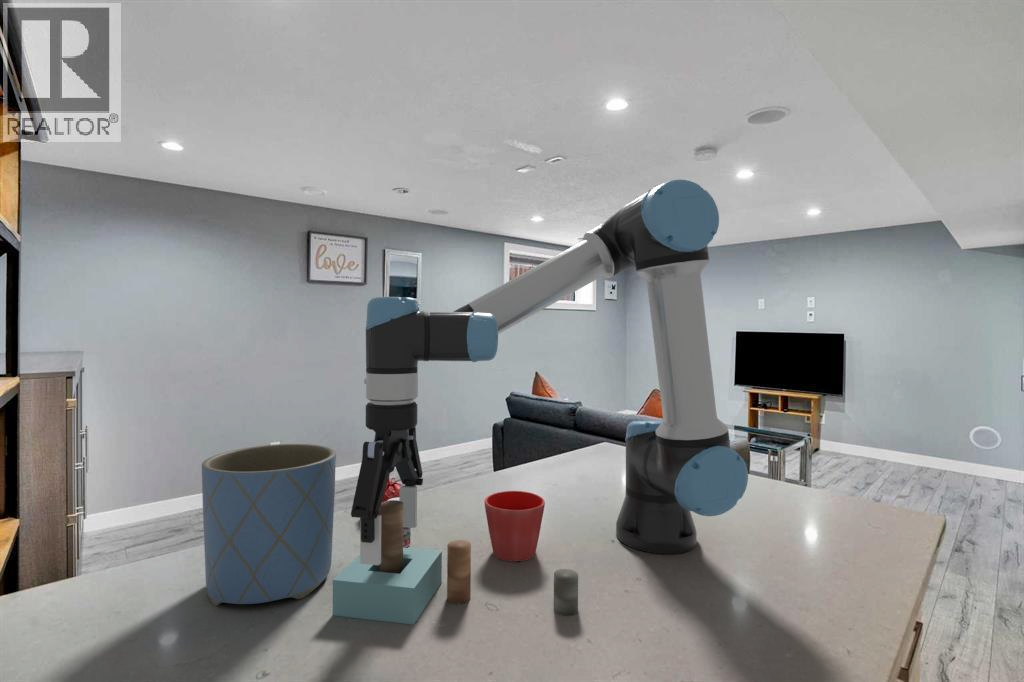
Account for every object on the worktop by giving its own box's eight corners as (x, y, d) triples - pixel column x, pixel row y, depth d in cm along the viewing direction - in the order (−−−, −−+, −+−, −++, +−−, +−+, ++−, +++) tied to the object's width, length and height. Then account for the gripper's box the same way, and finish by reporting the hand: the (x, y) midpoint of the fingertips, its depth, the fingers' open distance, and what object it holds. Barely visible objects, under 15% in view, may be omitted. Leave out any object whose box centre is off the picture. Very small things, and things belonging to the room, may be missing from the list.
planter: (343, 552, 91) (344, 442, 91) (322, 609, 72) (323, 470, 72) (229, 559, 88) (230, 445, 87) (176, 620, 69) (176, 475, 69)
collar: (441, 582, 80) (441, 551, 80) (413, 624, 68) (414, 588, 68) (371, 575, 82) (371, 544, 82) (332, 615, 70) (332, 579, 70)
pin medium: (473, 593, 77) (473, 540, 77) (467, 605, 73) (467, 550, 73) (451, 590, 77) (451, 539, 77) (444, 602, 74) (444, 548, 74)
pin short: (578, 603, 74) (578, 570, 74) (577, 616, 71) (577, 581, 70) (554, 601, 75) (555, 567, 75) (552, 614, 71) (552, 579, 71)
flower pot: (525, 572, 84) (526, 514, 84) (472, 556, 90) (473, 502, 89) (554, 549, 93) (555, 497, 93) (504, 536, 99) (505, 487, 98)
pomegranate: (389, 528, 103) (389, 483, 102) (354, 519, 108) (354, 476, 107) (421, 513, 111) (421, 471, 111) (387, 504, 116) (387, 464, 116)
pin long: (406, 592, 77) (407, 501, 77) (397, 604, 73) (397, 508, 73) (384, 590, 77) (385, 499, 77) (374, 602, 74) (375, 506, 74)
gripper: (400, 391, 88) (400, 512, 88) (323, 412, 63) (322, 580, 64) (442, 392, 86) (441, 515, 87) (379, 414, 62) (378, 586, 62)
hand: (390, 543), depth 75 cm, fingers open, 13 cm apart
